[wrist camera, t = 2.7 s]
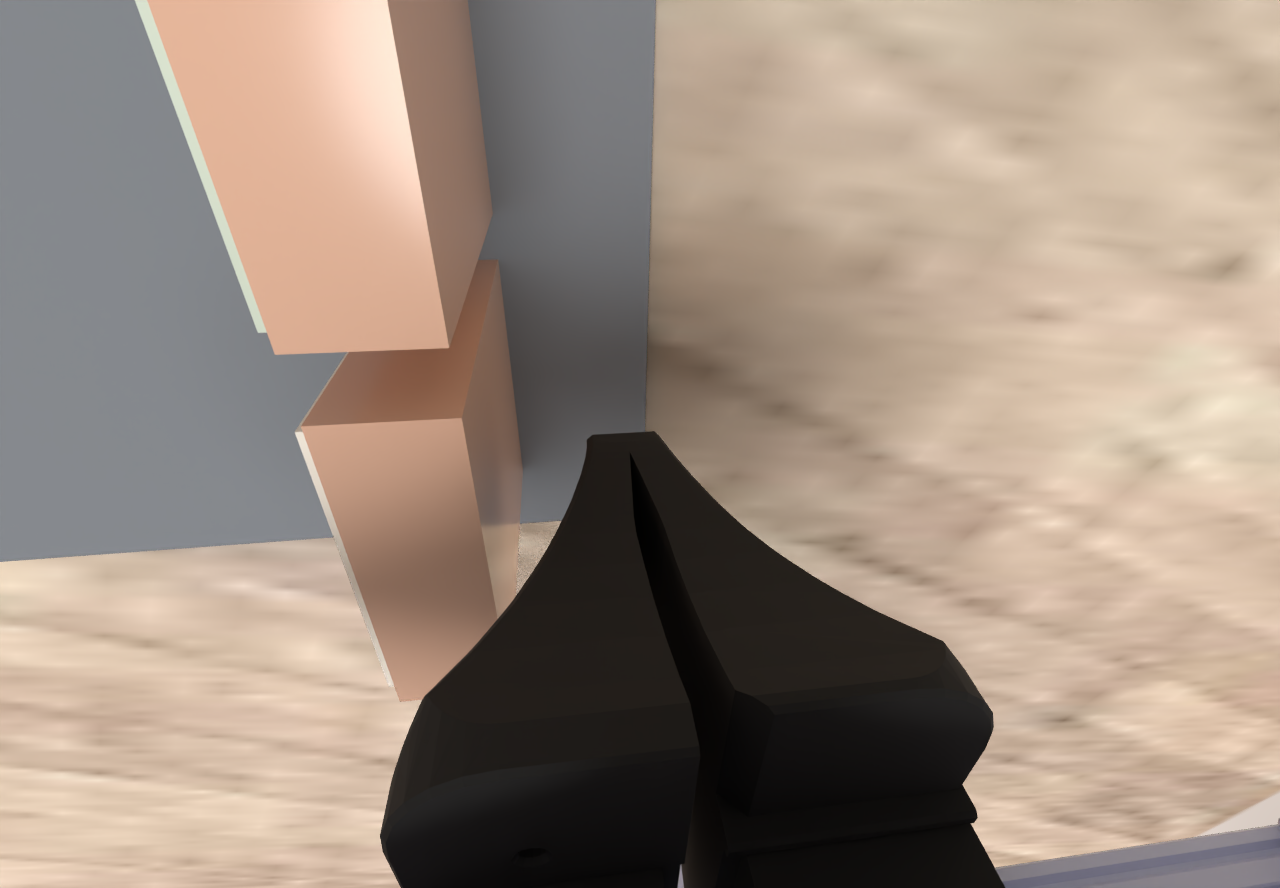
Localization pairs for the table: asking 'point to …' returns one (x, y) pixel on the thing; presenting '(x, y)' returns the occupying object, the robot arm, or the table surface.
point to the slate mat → (218, 312)
